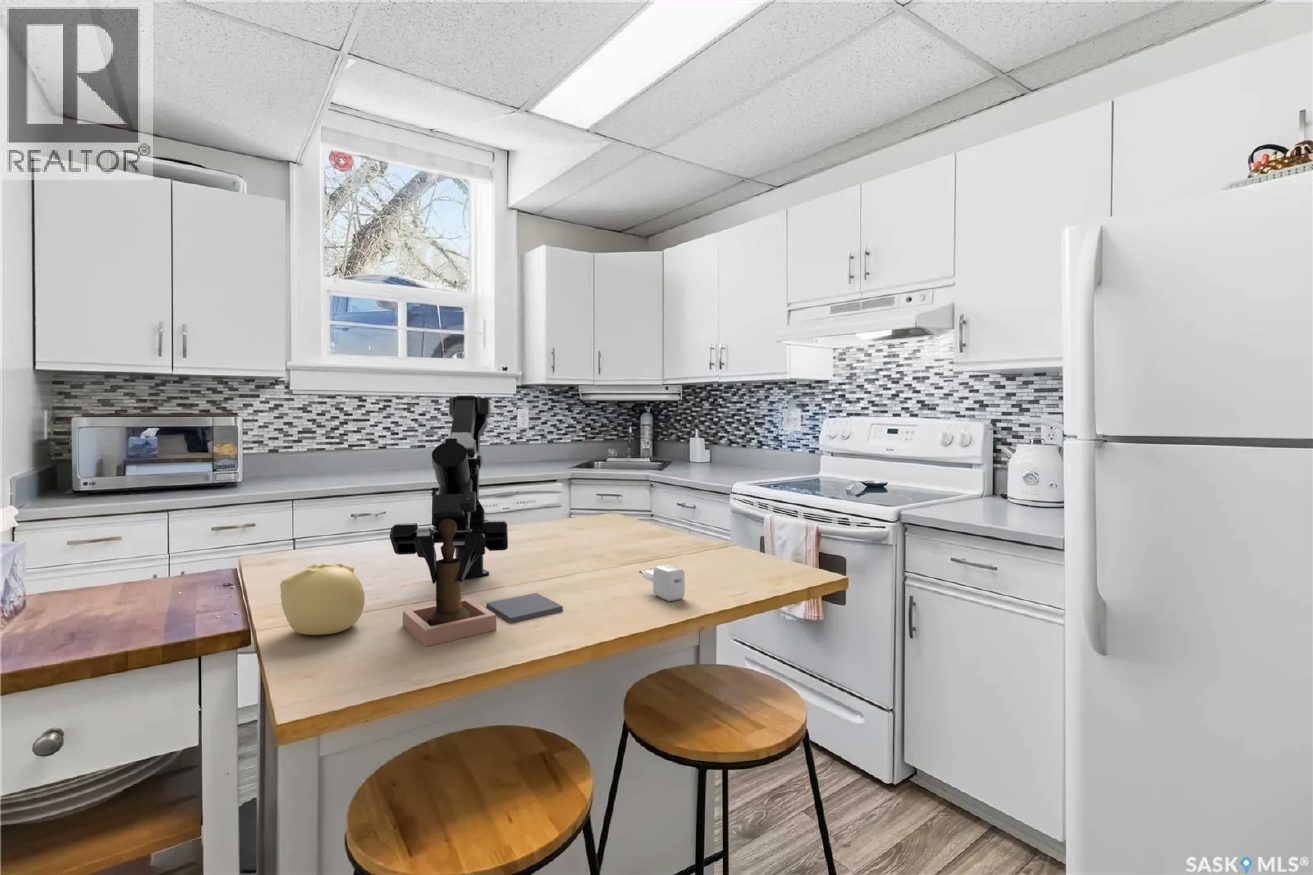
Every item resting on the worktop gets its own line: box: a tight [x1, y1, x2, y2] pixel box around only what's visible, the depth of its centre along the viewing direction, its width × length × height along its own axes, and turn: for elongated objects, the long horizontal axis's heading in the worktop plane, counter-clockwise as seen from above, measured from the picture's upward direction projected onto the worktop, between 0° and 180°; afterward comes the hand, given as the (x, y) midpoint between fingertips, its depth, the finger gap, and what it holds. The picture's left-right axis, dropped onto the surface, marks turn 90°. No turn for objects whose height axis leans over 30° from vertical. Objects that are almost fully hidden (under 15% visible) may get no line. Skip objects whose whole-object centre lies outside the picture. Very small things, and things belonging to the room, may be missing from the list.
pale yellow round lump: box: [279, 562, 366, 636], centre depth 103 cm, size 11×12×11 cm
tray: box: [402, 597, 497, 647], centre depth 104 cm, size 11×11×2 cm
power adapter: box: [638, 563, 686, 602], centre depth 122 cm, size 11×5×6 cm, turn 34°
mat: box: [485, 592, 564, 623], centre depth 113 cm, size 10×10×1 cm
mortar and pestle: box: [427, 519, 470, 626], centre depth 103 cm, size 7×6×18 cm
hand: (447, 581), depth 102 cm, fingers closed on mortar and pestle, 4 cm apart
